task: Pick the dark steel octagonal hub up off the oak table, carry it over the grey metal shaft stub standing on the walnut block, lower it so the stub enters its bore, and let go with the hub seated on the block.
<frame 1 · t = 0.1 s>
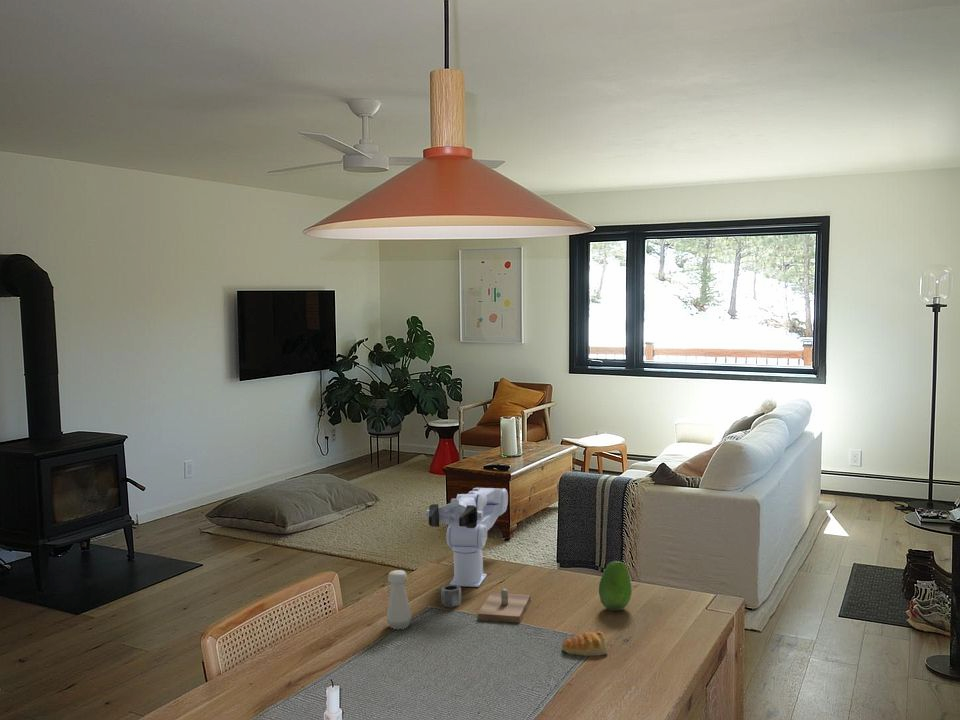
hand: (445, 521, 199), 22 cm above the table, tool horizontal, fingers open, 7 cm apart
shaft block: (504, 610, 198), on the table
salt shaker: (399, 627, 190), on the table
pastry: (587, 652, 175), on the table
hub: (451, 603, 204), on the table
avocado: (615, 610, 197), on the table
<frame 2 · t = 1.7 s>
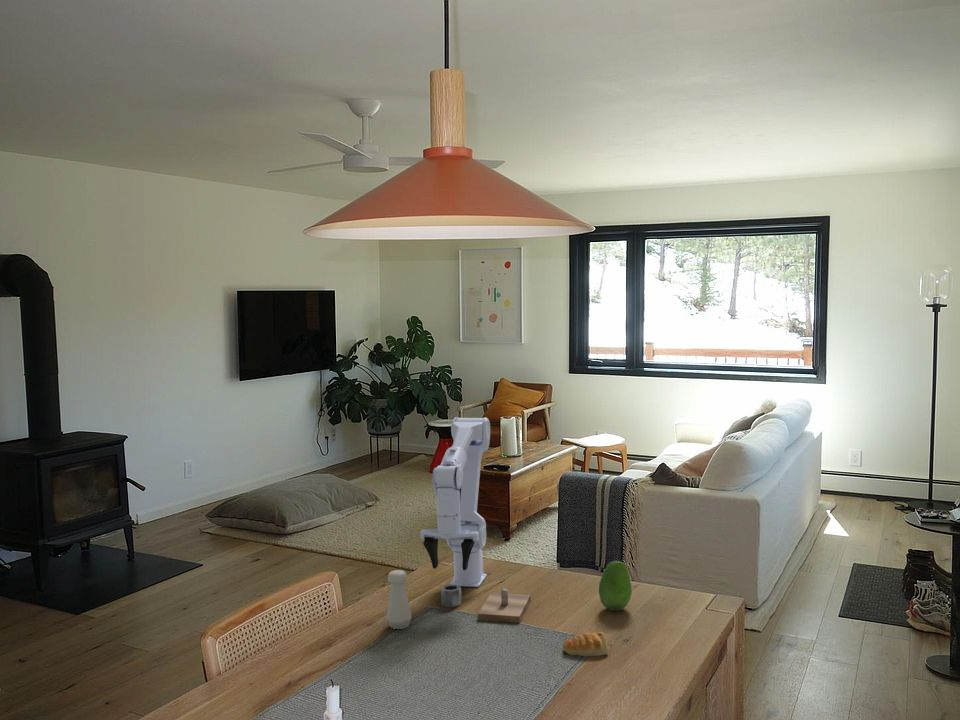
hand: (450, 568, 203), 9 cm above the table, tool pointing down, fingers open, 7 cm apart
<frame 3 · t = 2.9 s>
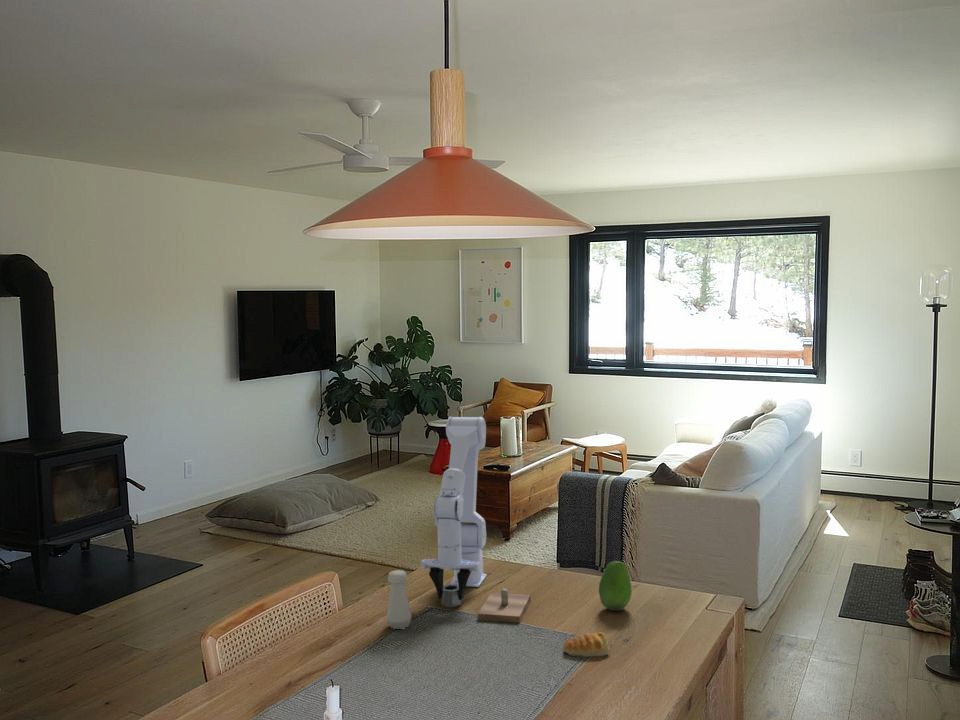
hand: (451, 598, 204), 1 cm above the table, tool pointing down, fingers closed on hub, 5 cm apart
hub: (451, 603, 204), on the table, touching gripper
everything else where it was.
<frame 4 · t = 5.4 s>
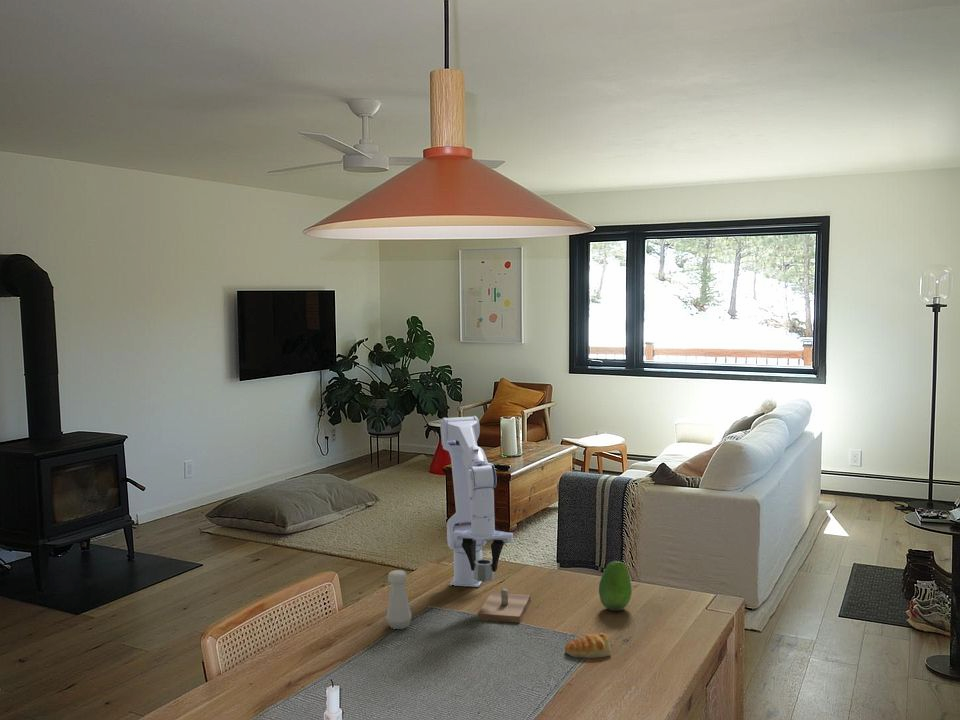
hand: (484, 569, 199), 9 cm above the table, tool pointing down, fingers closed on hub, 5 cm apart
hub: (484, 578, 199), point 7 cm above the table, touching gripper
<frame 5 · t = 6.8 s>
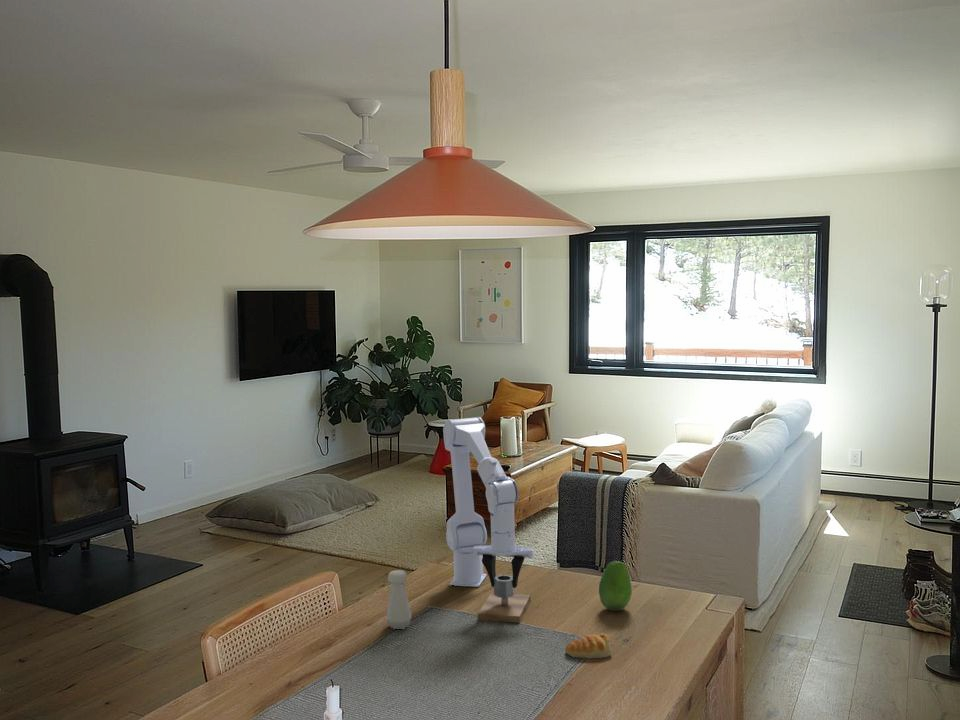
hand: (504, 585, 198), 6 cm above the table, tool pointing down, fingers closed on hub, 5 cm apart
hub: (504, 594, 198), point 4 cm above the table, touching gripper
when the fingers open (4 cm above the table, at t = 7.8 s): hub stays where it is, resting on shaft block.
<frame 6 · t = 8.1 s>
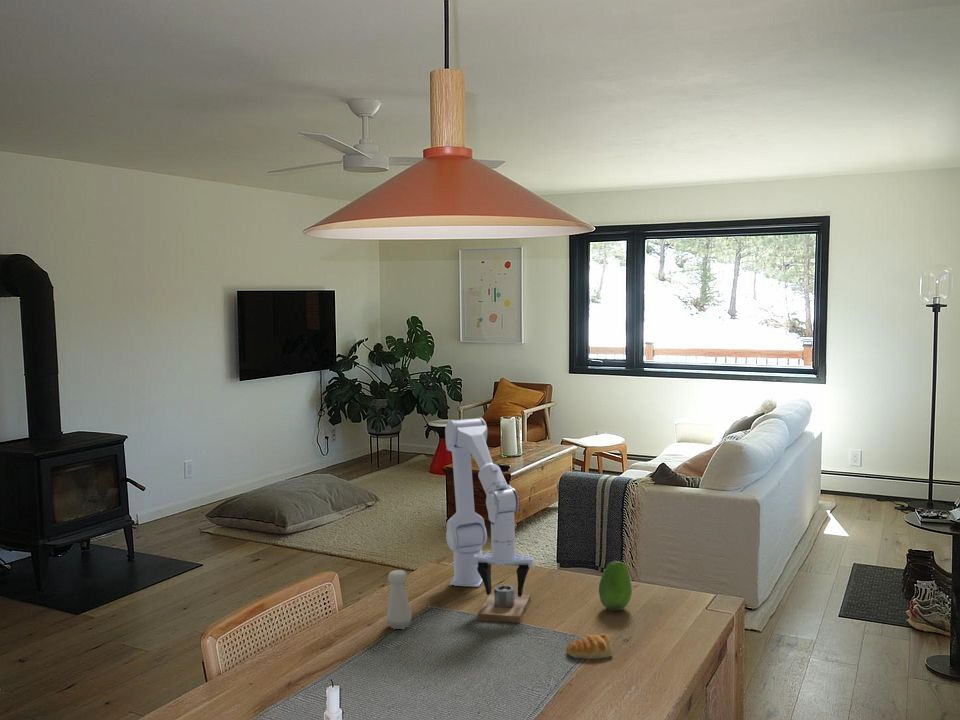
hand: (504, 594, 198), 4 cm above the table, tool pointing down, fingers open, 7 cm apart
hub: (504, 604, 198), point 1 cm above the table, touching shaft block
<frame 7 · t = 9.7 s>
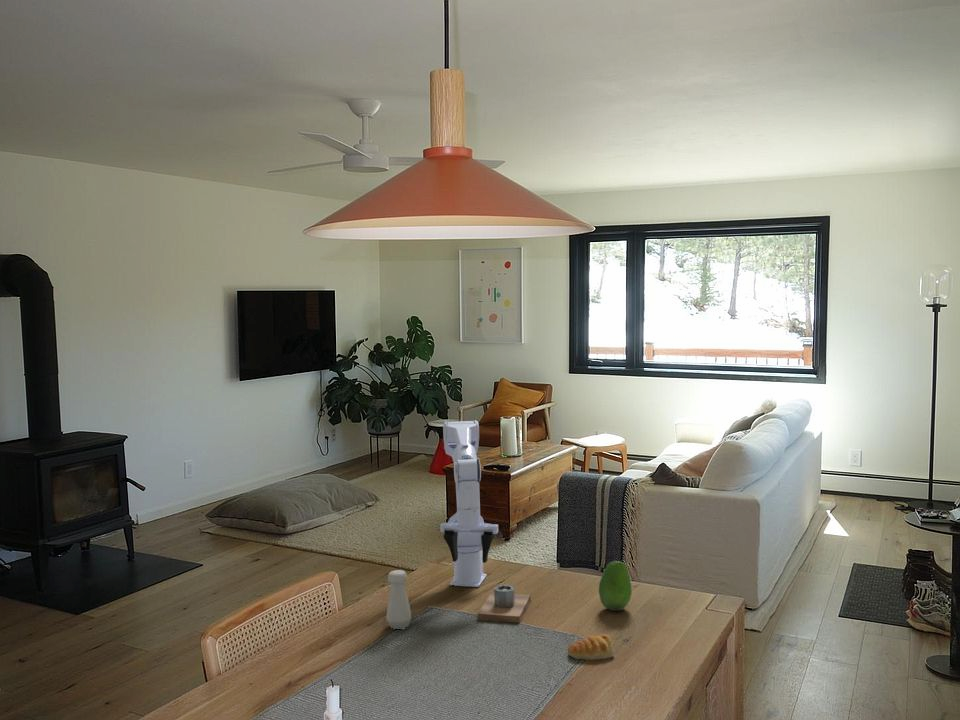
hand: (470, 561, 205), 10 cm above the table, tool pointing down, fingers open, 7 cm apart
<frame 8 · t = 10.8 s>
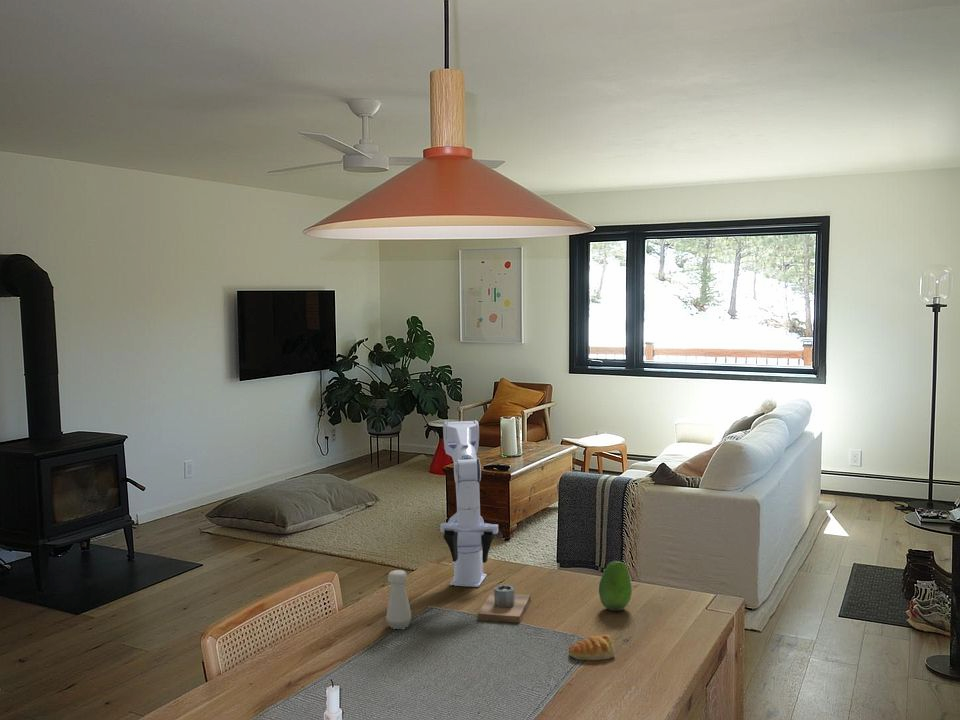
hand: (470, 561, 205), 10 cm above the table, tool pointing down, fingers open, 7 cm apart
at the end: hub 0.1 cm off-centre on the shaft block, point 1.5 cm above the shaft block's base; hub tilted 0°; the gripper is holding nothing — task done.
